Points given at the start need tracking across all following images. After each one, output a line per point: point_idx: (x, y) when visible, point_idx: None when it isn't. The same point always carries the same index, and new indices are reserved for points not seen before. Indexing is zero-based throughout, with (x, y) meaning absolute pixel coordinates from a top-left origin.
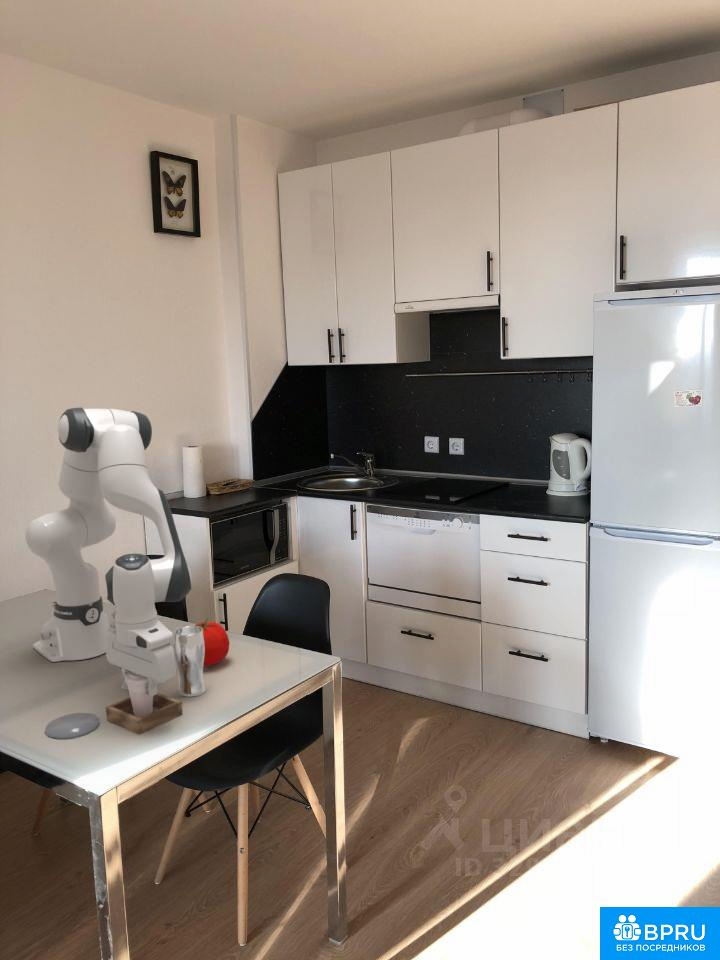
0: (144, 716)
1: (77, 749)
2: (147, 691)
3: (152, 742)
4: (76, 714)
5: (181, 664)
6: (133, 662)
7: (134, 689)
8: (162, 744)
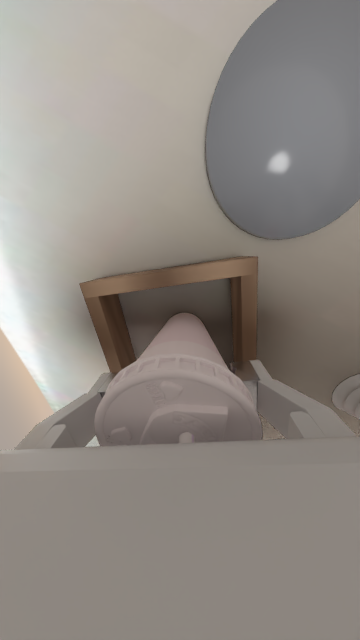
0: (98, 312)
1: (123, 64)
2: (110, 381)
3: (43, 281)
4: (356, 189)
5: None
6: (99, 619)
7: (146, 354)
8: (21, 292)
